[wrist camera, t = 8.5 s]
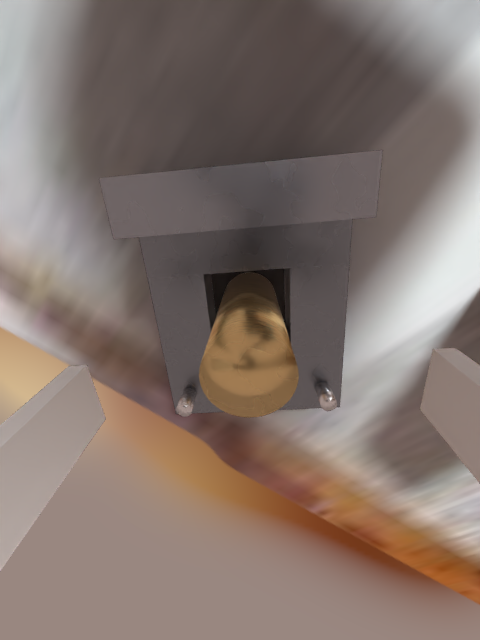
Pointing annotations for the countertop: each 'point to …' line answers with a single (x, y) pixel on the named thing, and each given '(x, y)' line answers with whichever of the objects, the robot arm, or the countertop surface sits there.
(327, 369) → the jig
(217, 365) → the brass cylinder
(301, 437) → the countertop surface
